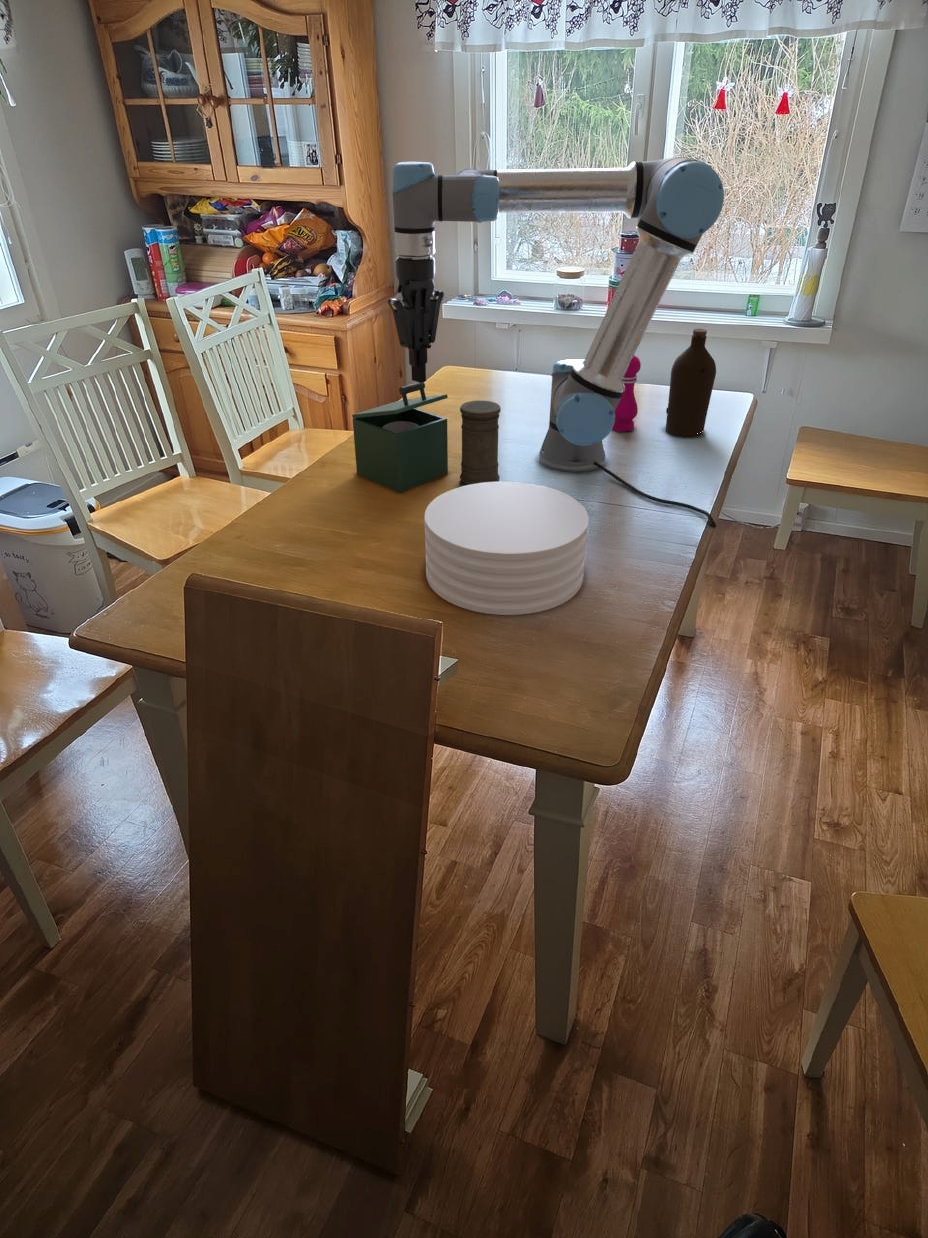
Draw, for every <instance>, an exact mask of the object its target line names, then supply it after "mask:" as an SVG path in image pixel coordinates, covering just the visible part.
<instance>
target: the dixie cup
mask: <svg viewBox="0 0 928 1238" xmlns="http://www.w3.org/2000/svg"><path fill="white" fill-rule="evenodd" d="M416 427H419V426H418V425H417V424H415V423H412V422H405V421H399V422H391V423H388V424H386V425H384V426H383V427H382V428H384V429H386V430H389V431H392V432H394V433H397V434H398V433H401V432H404V431H407V430H410V429H413V428H416Z"/></svg>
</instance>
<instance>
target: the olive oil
mask: <svg viewBox="0 0 928 1238" xmlns="http://www.w3.org/2000/svg"><path fill="white" fill-rule="evenodd" d="M707 332H708V330H707V329H705V328H694V329H693V330H692V335H691V340H690V345H689V346H688V347H687V348H686V349H685V350H684V351H683V352H681V353H680V354H679V355H678V356H677V357H676V358H675V360H674V362H673V364H672V367H671V372H670V378H669V379H670V381H669V392H668V402H667V407H666V409H665V413H666V420H665V421H666V422H665V432H666V433H667V434H669V435H671V436H674V437H677V438H684V439H685V438H687V439H688V438H689V439H690V438H698V437H700V436H702V435H703V434H704V431H705V426H706V420H707V415H708V411H709V408H710V407H709V406H710V402H711V397H712V393H713V389H714V383H715V380H716V376H717V365H716V361H715V359H714V358H713V356H712V354H711V353H709V351H708V350H707V348H706V342H707ZM702 431H703V432H702ZM700 432H701V433H700ZM697 433H698V434H697Z"/></svg>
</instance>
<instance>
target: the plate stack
mask: <svg viewBox="0 0 928 1238" xmlns="http://www.w3.org/2000/svg"><path fill="white" fill-rule="evenodd" d="M423 518H424V538H425V540H424V541H425V542H424V548H425V549H424V550H425V565H426V566H425V577H426V581H427V583H428V585H429V587H430V588H431V590H433V592H434V593H435V594H436V595H438V596H439V597H440V598H441V599H443V600H445V601H446V602H447V603H450V604H452V605H454V606H457V607H459V608H462V609H465V610H468V611H472V612H476V613H480V614H481V613H482V614H487V615H496V616H497V615H498V616H518V615H529V614H535V613H540V612H545V611H547V610H551V609H553V608H556V607H558V606H561V605H563V604H564V603H566V602H568V601H569V600H571V599H573V597H574V596H575V595H576V594H577V593H578V592H579V590H580V589H581V587H582V585H583V582H584V575H585V564H586V555H587V544H588V543H587V542H588V533H589V532H588V531H589V526H590V525H589V524H590V516H589V513H588V511H587V509H586V508H585V506H584V505H583V504H581V503H580V502H579V501H578V500H577V499H576V498H574V497H572V496H571V495H569V494H566V493H565V492H563V491H560V490H558V489H555V488H551V487H548V486H545V485H539V484H536V483H535V484H534V483H529V482H520V481H500V482H484V483H476V484H471V485H466V486H462V487H460V486H459V487H456V488H452V489H450V490H447V491H445V492H443V493H441V494H439V495H438V496H436V497H435V498H433V499H432V501H430V503H428V504H427V506H426V508H425V511H424V517H423Z"/></svg>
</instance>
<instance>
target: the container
mask: <svg viewBox="0 0 928 1238" xmlns="http://www.w3.org/2000/svg"><path fill="white" fill-rule="evenodd" d="M459 410H460V411H459V412H460V416H461V426H460V428H461V462H460V466H461V473H460V475H459V483H458V485H459V487H462V486H466V485H471V484H476V483H484V482H501V481H500V475H499V428H500V425H499V419H500V413H501V410H502V409H501V406H500V404H498V403H497V402H495V401H491V400H483V399H482V400H479V399H478V400H469V401H466V402H463V403H462V404H461V405H460V408H459Z"/></svg>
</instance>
